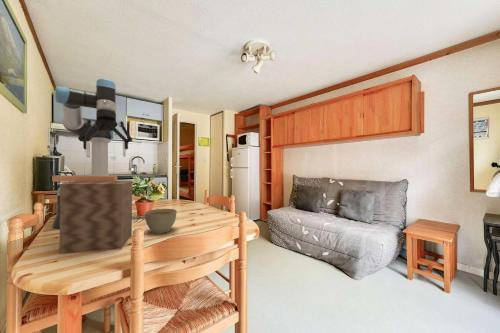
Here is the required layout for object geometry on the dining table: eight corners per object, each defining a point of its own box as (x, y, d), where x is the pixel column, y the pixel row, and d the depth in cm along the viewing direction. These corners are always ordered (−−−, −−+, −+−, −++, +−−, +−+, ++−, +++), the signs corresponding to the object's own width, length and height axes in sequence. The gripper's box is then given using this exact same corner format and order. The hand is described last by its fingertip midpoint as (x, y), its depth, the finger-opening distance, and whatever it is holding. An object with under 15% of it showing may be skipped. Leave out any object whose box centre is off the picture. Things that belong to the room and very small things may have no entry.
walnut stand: (59, 253, 86) (60, 184, 85) (80, 238, 103) (81, 180, 103) (121, 248, 92) (122, 183, 92) (131, 235, 109) (132, 180, 109)
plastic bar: (52, 181, 94) (52, 175, 94) (57, 180, 97) (57, 175, 97) (114, 181, 101) (114, 176, 101) (117, 180, 104) (117, 175, 104)
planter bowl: (182, 228, 122) (182, 209, 122) (164, 237, 107) (164, 216, 106) (157, 225, 126) (158, 207, 126) (137, 234, 111) (137, 213, 110)
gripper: (69, 106, 90) (68, 154, 87) (136, 110, 101) (137, 153, 97) (75, 113, 97) (74, 159, 93) (137, 116, 107) (138, 157, 104)
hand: (106, 156), depth 95 cm, fingers open, 13 cm apart
